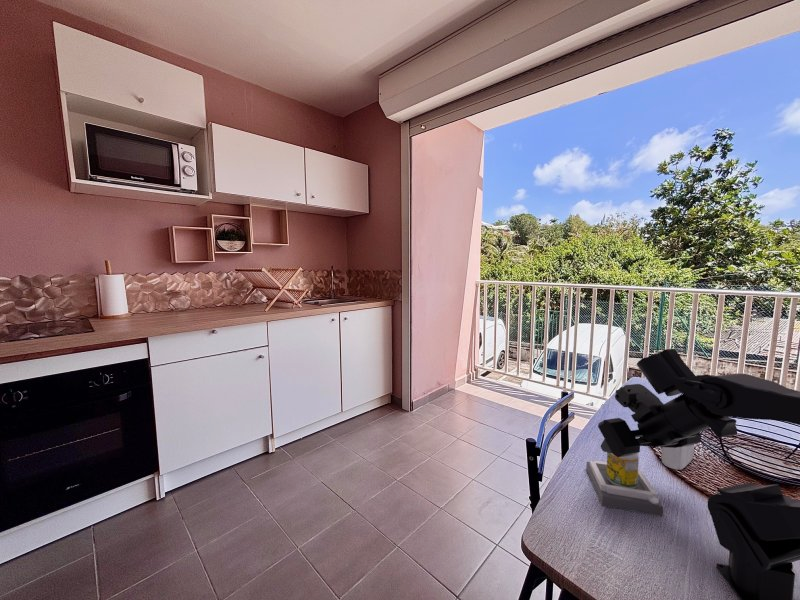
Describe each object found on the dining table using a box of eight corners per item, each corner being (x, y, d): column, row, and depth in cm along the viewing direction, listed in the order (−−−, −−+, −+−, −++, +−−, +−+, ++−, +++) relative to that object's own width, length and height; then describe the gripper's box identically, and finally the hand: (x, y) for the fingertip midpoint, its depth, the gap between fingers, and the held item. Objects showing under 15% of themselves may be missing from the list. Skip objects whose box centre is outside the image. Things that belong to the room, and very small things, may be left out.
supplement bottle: (643, 490, 64) (646, 445, 63) (617, 491, 64) (619, 445, 63) (624, 473, 69) (626, 431, 68) (600, 474, 69) (602, 432, 68)
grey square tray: (662, 516, 59) (663, 500, 59) (602, 505, 62) (602, 490, 62) (636, 477, 71) (637, 463, 71) (586, 469, 74) (586, 456, 74)
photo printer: (673, 450, 81) (676, 404, 80) (695, 458, 78) (698, 410, 77) (658, 464, 76) (661, 414, 75) (681, 473, 72) (684, 421, 71)
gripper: (687, 372, 62) (632, 404, 73) (608, 380, 58) (563, 413, 69) (734, 429, 55) (665, 455, 66) (648, 443, 51) (591, 468, 62)
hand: (620, 445), depth 66 cm, fingers open, 9 cm apart
